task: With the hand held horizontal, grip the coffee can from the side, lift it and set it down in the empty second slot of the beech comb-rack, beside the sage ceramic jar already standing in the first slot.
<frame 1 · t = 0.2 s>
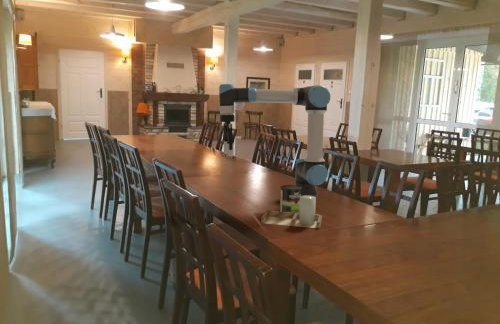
hand: (228, 155, 208), 27 cm above the table, fingers open, 13 cm apart
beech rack: (291, 224, 180), on the table
sage jar: (306, 223, 178), point 1 cm above the table, touching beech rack
coffee can: (290, 215, 196), on the table
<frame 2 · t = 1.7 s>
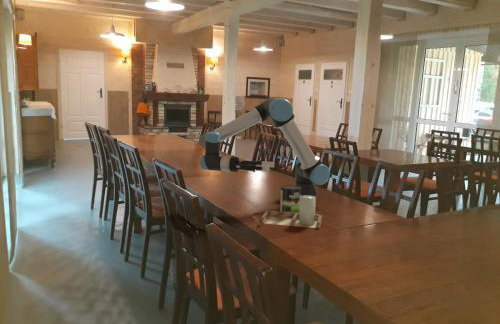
hand: (271, 166, 195), 24 cm above the table, fingers open, 13 cm apart
nothing on the table moved.
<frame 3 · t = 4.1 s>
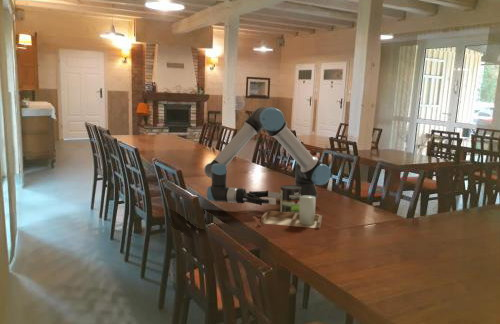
hand: (278, 198, 196), 8 cm above the table, fingers open, 13 cm apart
nothing on the table moved.
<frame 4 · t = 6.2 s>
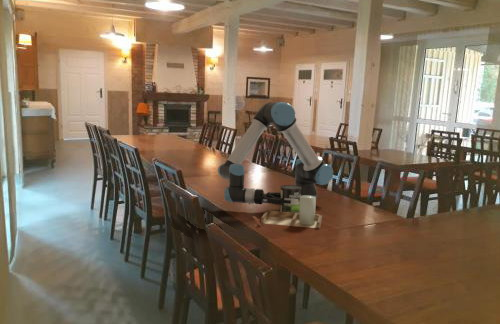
hand: (299, 199, 194), 8 cm above the table, fingers closed on coffee can, 10 cm apart
coffee can: (290, 215, 196), on the table, touching gripper
everything else where it was.
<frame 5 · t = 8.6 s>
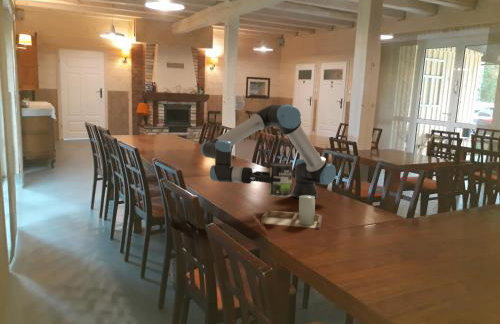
hand: (290, 178, 179), 21 cm above the table, fingers closed on coffee can, 10 cm apart
coffee can: (279, 195, 181), point 13 cm above the table, touching gripper
everything else where it was.
when the fingers open (11 cm above the table, at t = 11.1 s): coffee can drops 1 cm, resting on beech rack.
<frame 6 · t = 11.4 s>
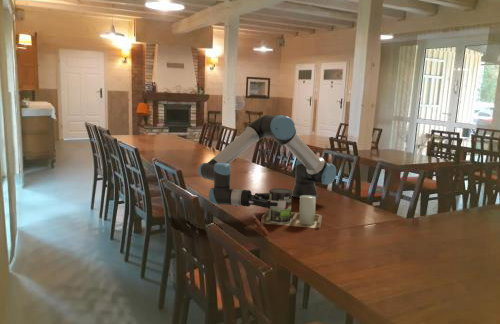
hand: (287, 201, 178), 11 cm above the table, fingers open, 13 cm apart
coffee can: (279, 221, 181), point 1 cm above the table, touching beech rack
everything else where it was.
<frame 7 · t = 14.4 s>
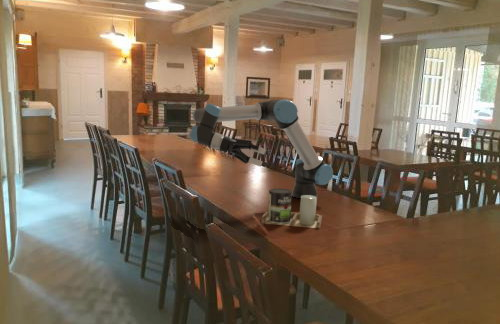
hand: (263, 158, 188), 28 cm above the table, fingers open, 13 cm apart
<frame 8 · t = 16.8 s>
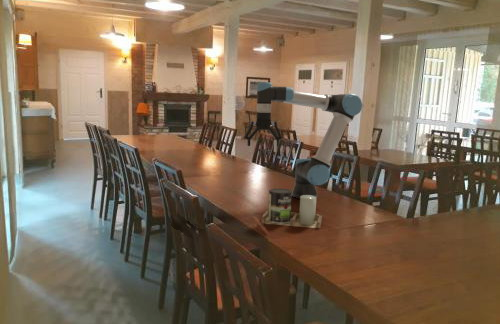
hand: (262, 152, 211), 29 cm above the table, fingers open, 13 cm apart
nothing on the table moved.
at the end: coffee can inside the target area (0.2 cm from its centre), point 1.0 cm above the table; coffee can tilted 0°; the gripper is holding nothing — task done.
